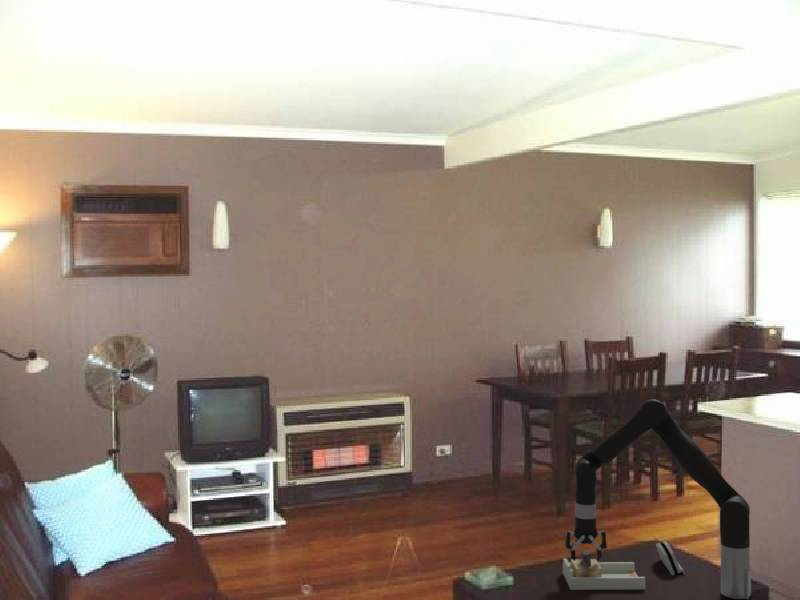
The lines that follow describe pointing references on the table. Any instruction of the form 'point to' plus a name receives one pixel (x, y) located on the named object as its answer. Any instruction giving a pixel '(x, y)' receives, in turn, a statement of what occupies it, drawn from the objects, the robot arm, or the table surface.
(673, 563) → the hinge
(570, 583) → the bay
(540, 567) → the table surface
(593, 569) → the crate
